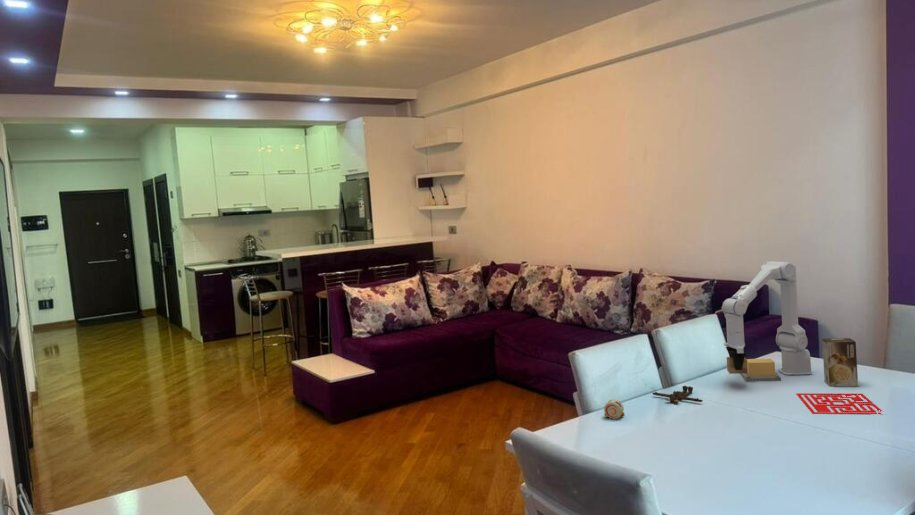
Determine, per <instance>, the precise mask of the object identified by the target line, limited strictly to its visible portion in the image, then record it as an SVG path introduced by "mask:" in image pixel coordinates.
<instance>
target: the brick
mask: <svg viewBox="0 0 915 515" xmlns="http://www.w3.org/2000/svg"><path fill="white" fill-rule="evenodd" d="M746 359H747V372H748V373H747V374H748V375H749V376H771V375H775V372H776V364H775V361H774V360H773V359H772V358H746Z"/></svg>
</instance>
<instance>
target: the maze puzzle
mask: <svg viewBox="0 0 915 515" xmlns="http://www.w3.org/2000/svg"><path fill="white" fill-rule="evenodd" d="M795 394H796V396H797V398H799V399H800V401H802V403H803V404H804V406H805V407H806V408H807V409H808V411H809V412H810V413H811V415H871V414H877V413H878V414H881V413H880V412H879V410H880V411H883V410H882V409H881V408H879V407H878V406H877V405H876V403H873V401H871V400H870V399H869V397H867V396H866V395H865V394H864V393H829V392H827V393H823V392H821V393H810V392H809V393H806V392H805V393H801V392H800V393H795ZM857 394H858V395H857ZM844 395H845V396H846V397H845V396H844ZM860 395H861V397H860ZM847 396H852V397H847ZM855 396H856V397H855ZM804 398H805V399H806V400H805V399H804ZM811 398H812V399H811ZM823 398H824V399H823ZM831 398H832V399H831ZM841 398H851V399H841ZM865 399H866V400H867V401H868V402H867V401H866V400H865ZM819 400H820V401H819ZM843 400H847V401H848V402H847V401H843ZM851 400H852V401H851ZM853 400H854V401H853ZM813 401H814V402H815V403H814V402H813ZM856 401H864V402H856ZM835 403H837V404H835ZM838 403H840V404H838ZM841 403H842V404H841ZM856 404H858V405H859V406H860V408H859V406H858V405H856ZM810 405H811V406H812V407H813V408H812V407H811V406H810ZM872 405H873V406H874V407H875V408H876V409H877V410H875V408H874V407H873V406H872ZM865 406H867V407H868V408H869V409H868V408H867V407H865ZM853 408H854V409H855V410H854V409H853ZM814 409H815V410H814ZM837 409H838V410H837ZM831 410H832V411H831ZM839 411H840V412H839ZM877 411H878V412H877Z"/></svg>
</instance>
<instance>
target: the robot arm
mask: <svg viewBox="0 0 915 515" xmlns="http://www.w3.org/2000/svg"><path fill="white" fill-rule="evenodd" d="M796 267H797V266H796V265H794V263H792V262H790V261H772V260H767V261H764V263H763V264H762V265H761V266H760V271H759V272H758V274H756V275H755V277H754V278H753V279H752V280H751V282H750V283H749V284H745V285H741V286H740V289H738V291H736V292H735V294H733V295H732V296H731V297H729V298H726V299H725V300H724V301H722V306H721V310H722V312H723V314H724V318H725V319H726V320H725V323H726V325H725V326H726V340H727V342H724V343H723V345H724V347H725V348H726V351H727V352H728V355H729V357H732V358H733V362H734V367H735V370H742V367H743V362H744V358H746V356H747V354H748V351H746V350H744V348H745V346H746V343H745V331H744V330H745V328H744V326H745V324H744V315H745V314H746V312H747V309H748V307H749V304H750V303H751V302H752V301H753V300H754V299H755V298H756V297H757V296H758V292H757V291H759V290H760V289H761V288H762V287H763V286H765V285H766V284H767V283H768V282H770V280H774V282H777V284H778V285H779V286H780V303H781V304H780V305H781V325H780V326H779V327H777V329H776V330H777V331H776V332H777V333H776V336H775V343H776V345H777V346H778V347H779V349H780V350H781V351H780V352H781V367H780V368H778V370H779V371H780V372H781V373H782V374H783V375H785V376H797V375H799V376H801V375H803V376H807V375H813V372H812V366H811V365H812V363H811V354H810V351H809V350H808V349H806V348H807V347H808V342H809V340H808V337H807V335H806V330H805V329H804V328H803V327H802V326H801V325H800V324H799V310H798V290H797V272H796V269H797V268H796Z"/></svg>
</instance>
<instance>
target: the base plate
mask: <svg viewBox="0 0 915 515" xmlns="http://www.w3.org/2000/svg"><path fill="white" fill-rule="evenodd" d="M740 376H741V377H742V378H743V379H744V381H745V382H748V383H749V382H781V381H782V377H781V376H780V375H779V374H778V373H777V372H776V371H775V375H771V376H749V375H748V374H747V373H740Z"/></svg>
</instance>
